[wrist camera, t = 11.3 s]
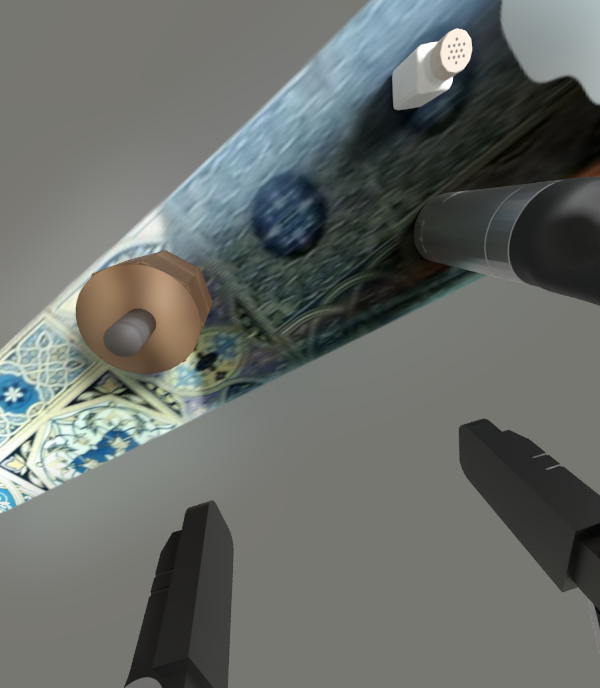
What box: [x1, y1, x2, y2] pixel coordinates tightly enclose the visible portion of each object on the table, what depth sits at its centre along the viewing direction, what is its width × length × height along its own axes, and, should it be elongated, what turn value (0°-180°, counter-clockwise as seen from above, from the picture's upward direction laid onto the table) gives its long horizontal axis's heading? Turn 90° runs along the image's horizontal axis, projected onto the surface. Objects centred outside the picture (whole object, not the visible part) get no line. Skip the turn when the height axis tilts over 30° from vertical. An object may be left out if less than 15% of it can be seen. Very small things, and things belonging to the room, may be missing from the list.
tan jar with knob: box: [76, 250, 212, 374], centre depth 34 cm, size 12×12×16 cm
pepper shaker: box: [392, 28, 472, 110], centre depth 32 cm, size 4×4×10 cm
